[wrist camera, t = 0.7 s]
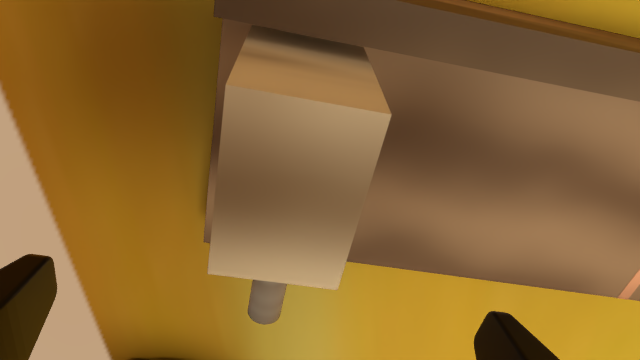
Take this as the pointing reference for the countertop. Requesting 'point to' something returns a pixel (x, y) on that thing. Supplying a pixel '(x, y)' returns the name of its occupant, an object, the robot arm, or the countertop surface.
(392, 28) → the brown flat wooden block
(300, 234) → the block
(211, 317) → the countertop surface
